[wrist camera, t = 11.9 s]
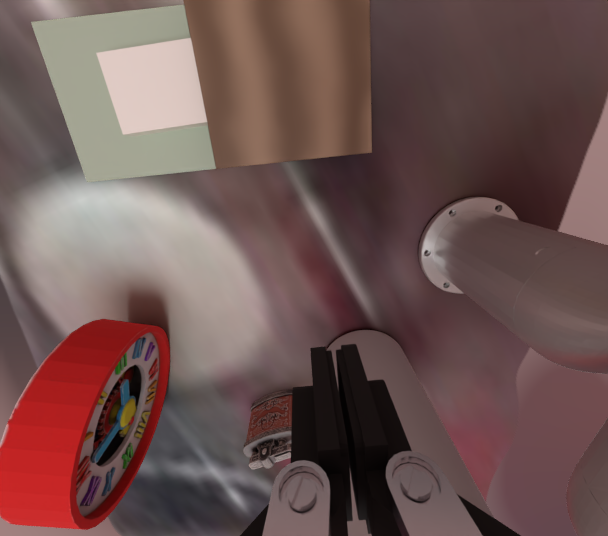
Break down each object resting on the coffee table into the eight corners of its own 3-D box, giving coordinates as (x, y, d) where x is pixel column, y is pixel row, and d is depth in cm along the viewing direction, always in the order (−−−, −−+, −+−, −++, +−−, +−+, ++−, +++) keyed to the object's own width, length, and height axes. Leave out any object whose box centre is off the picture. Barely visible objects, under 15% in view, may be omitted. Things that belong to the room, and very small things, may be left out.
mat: (185, 6, 28) (183, 4, 28) (216, 168, 34) (216, 168, 33) (34, 23, 28) (30, 22, 28) (89, 181, 34) (87, 182, 33)
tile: (199, 47, 29) (190, 37, 27) (216, 124, 32) (209, 121, 29) (112, 61, 29) (96, 52, 27) (135, 136, 32) (122, 134, 29)
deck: (359, -14, 28) (369, -40, 24) (363, 153, 33) (371, 152, 30) (195, 5, 28) (179, -18, 24) (225, 167, 34) (216, 168, 30)
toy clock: (170, 408, 46) (82, 579, 27) (132, 404, 46) (17, 575, 27) (170, 297, 39) (54, 423, 21) (125, 290, 39) (-35, 414, 20)
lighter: (257, 417, 47) (247, 481, 38) (247, 402, 46) (234, 465, 37) (302, 400, 46) (303, 462, 37) (293, 385, 45) (292, 445, 36)
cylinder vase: (338, 405, 47) (380, 653, 23) (307, 346, 42) (318, 576, 19) (413, 378, 45) (538, 616, 22) (387, 314, 41) (508, 523, 18)
